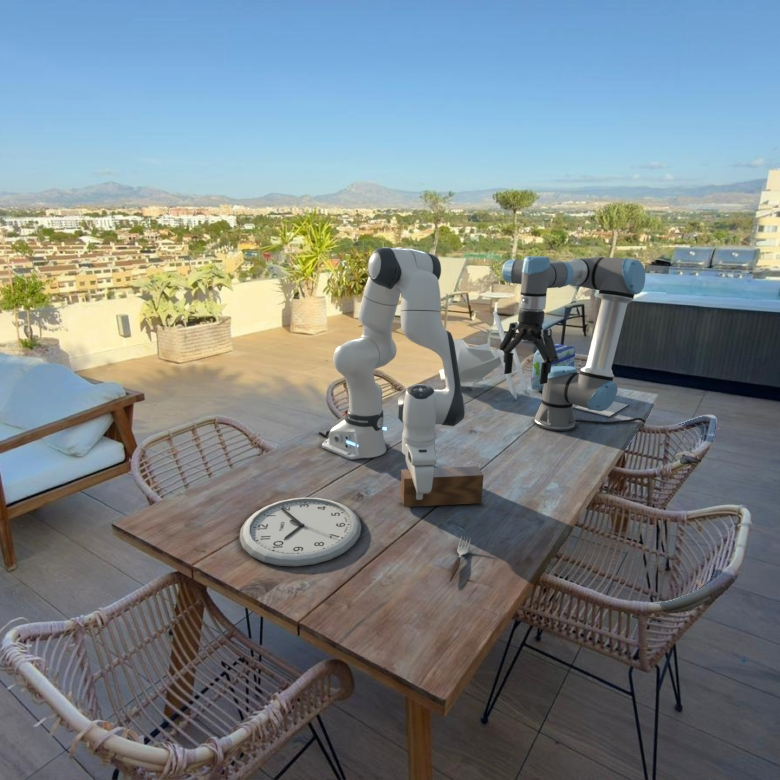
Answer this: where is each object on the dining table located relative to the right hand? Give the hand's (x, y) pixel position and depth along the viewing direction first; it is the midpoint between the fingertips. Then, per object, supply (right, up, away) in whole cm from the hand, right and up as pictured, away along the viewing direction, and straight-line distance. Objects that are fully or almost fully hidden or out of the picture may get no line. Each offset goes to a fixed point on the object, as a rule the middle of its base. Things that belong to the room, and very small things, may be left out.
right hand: (525, 378), depth 162 cm
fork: (-26, -43, -43) cm, 66 cm away
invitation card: (+50, -11, +64) cm, 82 cm away
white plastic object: (0, -5, +81) cm, 81 cm away
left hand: (-35, -32, -19) cm, 51 cm away
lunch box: (+35, -3, +89) cm, 96 cm away
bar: (-28, -34, -17) cm, 47 cm away
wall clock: (-64, -39, -31) cm, 81 cm away
